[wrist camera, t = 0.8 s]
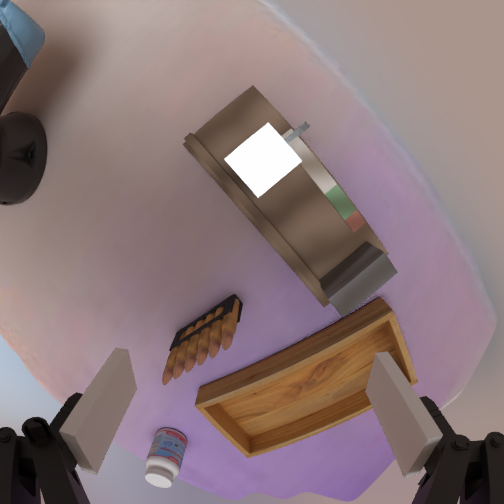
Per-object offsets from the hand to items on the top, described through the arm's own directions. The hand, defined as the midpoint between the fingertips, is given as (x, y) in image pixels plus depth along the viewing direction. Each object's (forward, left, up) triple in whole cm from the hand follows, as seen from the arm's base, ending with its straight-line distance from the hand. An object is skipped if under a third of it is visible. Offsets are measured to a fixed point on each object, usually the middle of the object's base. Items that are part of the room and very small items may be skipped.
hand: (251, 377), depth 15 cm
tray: (+21, -7, -26) cm, 34 cm away
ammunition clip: (+3, -11, -25) cm, 28 cm away
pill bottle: (+17, -35, -25) cm, 46 cm away
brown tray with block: (-3, +8, -25) cm, 27 cm away
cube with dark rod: (-8, +10, -23) cm, 26 cm away
